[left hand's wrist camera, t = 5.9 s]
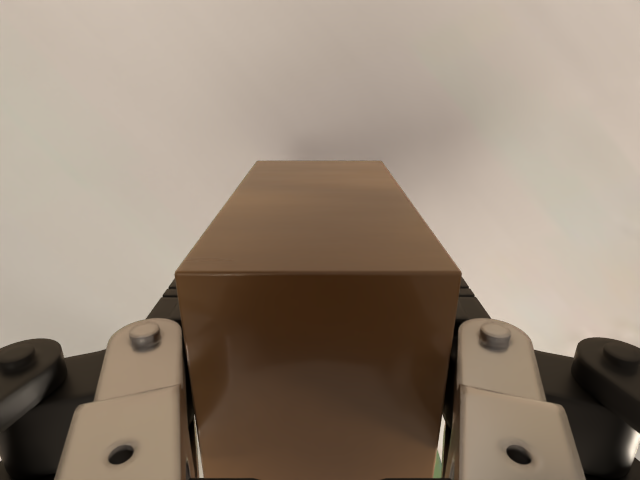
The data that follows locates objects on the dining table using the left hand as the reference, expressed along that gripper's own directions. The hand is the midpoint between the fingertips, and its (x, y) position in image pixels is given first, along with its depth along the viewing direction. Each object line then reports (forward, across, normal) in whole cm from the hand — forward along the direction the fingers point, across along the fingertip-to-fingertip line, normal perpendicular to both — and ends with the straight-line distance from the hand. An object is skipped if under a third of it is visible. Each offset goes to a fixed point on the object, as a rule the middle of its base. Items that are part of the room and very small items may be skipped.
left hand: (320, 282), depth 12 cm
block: (+5, 0, 0) cm, 5 cm away
